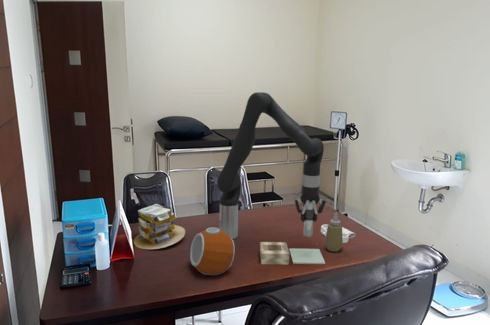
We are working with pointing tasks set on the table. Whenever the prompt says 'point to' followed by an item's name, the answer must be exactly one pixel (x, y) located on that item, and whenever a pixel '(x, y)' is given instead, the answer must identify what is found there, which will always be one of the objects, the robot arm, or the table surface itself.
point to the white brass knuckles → (345, 233)
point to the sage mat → (306, 256)
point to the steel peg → (308, 220)
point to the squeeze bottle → (334, 235)
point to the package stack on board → (157, 228)
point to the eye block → (274, 253)
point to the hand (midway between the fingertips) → (308, 221)
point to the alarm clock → (212, 251)
